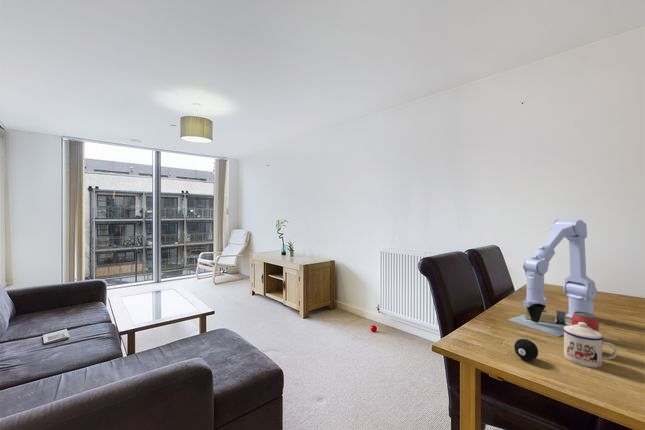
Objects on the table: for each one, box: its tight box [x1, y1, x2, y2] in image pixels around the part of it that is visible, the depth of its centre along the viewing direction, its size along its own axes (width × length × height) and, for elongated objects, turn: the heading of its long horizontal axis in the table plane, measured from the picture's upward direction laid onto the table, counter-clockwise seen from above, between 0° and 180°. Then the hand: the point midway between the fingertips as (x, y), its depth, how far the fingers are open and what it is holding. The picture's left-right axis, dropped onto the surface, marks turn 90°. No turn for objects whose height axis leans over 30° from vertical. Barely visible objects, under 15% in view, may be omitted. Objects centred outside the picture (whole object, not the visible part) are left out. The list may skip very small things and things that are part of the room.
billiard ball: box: [513, 338, 539, 361], centre depth 87 cm, size 6×6×6 cm
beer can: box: [571, 311, 600, 333], centre depth 93 cm, size 7×7×12 cm
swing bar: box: [524, 308, 556, 323], centre depth 118 cm, size 10×2×4 cm, turn 60°
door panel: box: [506, 313, 572, 338], centre depth 116 cm, size 19×18×1 cm
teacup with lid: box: [563, 322, 618, 368], centre depth 86 cm, size 12×9×12 cm
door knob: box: [555, 310, 567, 326], centre depth 115 cm, size 4×4×5 cm
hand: (535, 321), depth 115 cm, fingers closed
